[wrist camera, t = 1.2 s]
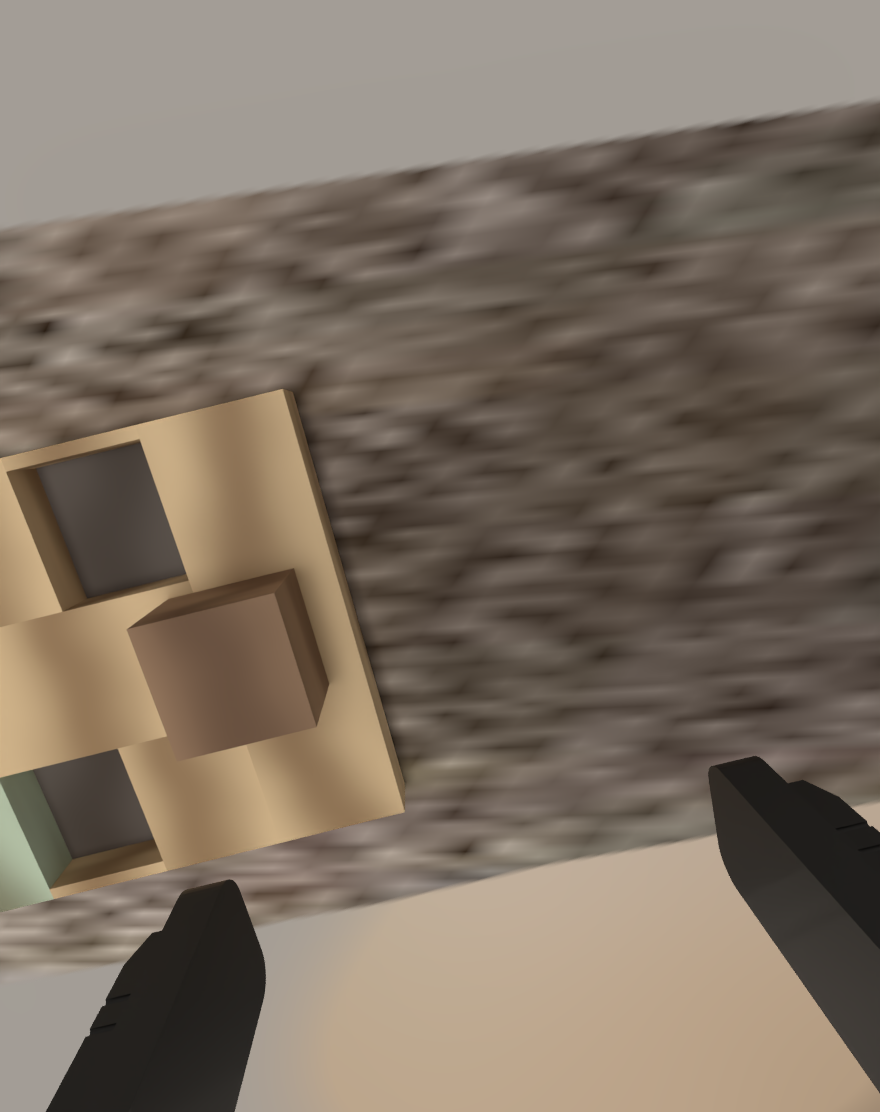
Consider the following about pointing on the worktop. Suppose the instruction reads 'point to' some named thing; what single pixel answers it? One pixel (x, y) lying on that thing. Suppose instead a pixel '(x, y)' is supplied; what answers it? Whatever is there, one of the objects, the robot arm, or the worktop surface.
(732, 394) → the worktop surface
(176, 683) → the block
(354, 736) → the board
